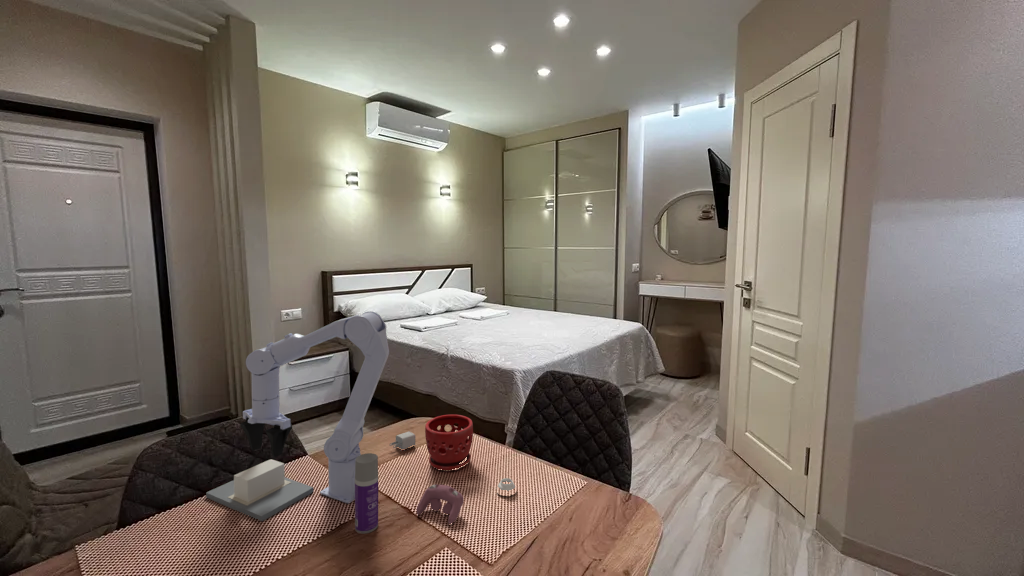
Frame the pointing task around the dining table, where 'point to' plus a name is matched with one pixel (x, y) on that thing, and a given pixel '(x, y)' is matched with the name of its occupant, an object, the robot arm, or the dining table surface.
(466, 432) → the plant pot
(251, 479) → the block
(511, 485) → the grey rounded piece
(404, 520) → the dining table surface
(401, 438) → the usb wall charger
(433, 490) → the video game controller
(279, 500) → the stub plate
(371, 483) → the container
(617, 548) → the dining table surface
